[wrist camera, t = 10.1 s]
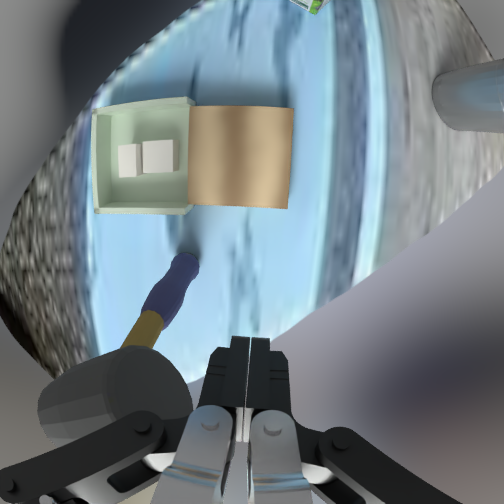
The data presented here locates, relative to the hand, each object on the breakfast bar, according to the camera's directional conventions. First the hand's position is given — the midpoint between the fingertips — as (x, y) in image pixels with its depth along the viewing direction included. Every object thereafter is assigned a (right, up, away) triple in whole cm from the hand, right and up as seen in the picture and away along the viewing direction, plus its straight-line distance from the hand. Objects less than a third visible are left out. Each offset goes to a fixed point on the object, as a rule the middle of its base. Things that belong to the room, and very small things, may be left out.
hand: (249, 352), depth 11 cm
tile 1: (-11, +17, +22) cm, 30 cm away
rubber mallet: (-9, +3, +28) cm, 30 cm away
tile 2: (-13, +16, +21) cm, 29 cm away
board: (-1, +16, +23) cm, 28 cm away
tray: (-14, +17, +23) cm, 32 cm away
